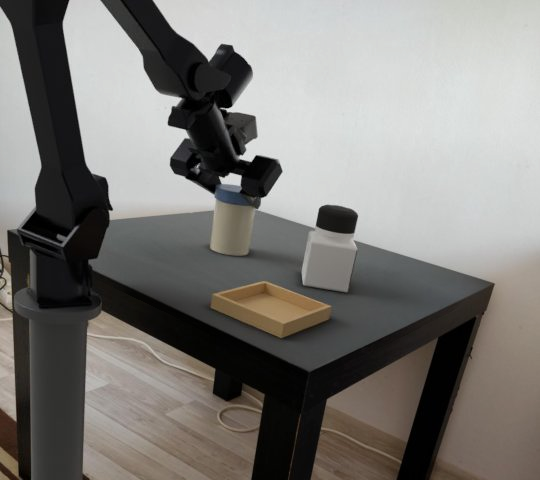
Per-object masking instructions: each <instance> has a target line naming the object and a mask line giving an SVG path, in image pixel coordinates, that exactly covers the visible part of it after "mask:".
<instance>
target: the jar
mask: <svg viewBox="0 0 540 480" xmlns="http://www.w3.org/2000/svg"><path fill="white" fill-rule="evenodd" d="M213 209H214V210H213V219H212V227H211V233H210V234H211V235H210V243H209V249H211V250H212V251H213V252H216V253H218V254H223V255H227V256H233V257H234V256H236V257H242V256H243V257H244V256H247V255H248V254H250V247H251V240H252V233H253V227H254V220H255V214H256V209H255V208H254V207H253V206H252V205H239V204H232V203H227V202H223V201H220V200H218V199H216V198H215V203H214V208H213Z"/></svg>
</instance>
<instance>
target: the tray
mask: <svg viewBox="0 0 540 480" xmlns="http://www.w3.org/2000/svg"><path fill="white" fill-rule="evenodd" d="M210 309H212V310H214V311H217V312H219V313H221V314H223V315H226V316H228V317H231V318H233V319H235V320H237V321H240V322H242V323H244V324H247V325H249V326H252V327H254V328H255V329H259V330H261V331H264V332H266V333H268V334H270V335H272V336H275V337H278V338H279V339H283V338H286V337H288V336H291V335H294V334H296V333H299V332H300V331H303V330H305V329H308V328H310V327H313V326H316V325H318V324H322V323H323V322H326V321H328V320H330V315H331V311H332V305H329V304H326V303H325V302H321V301H318V300H316V299H313V298H311V297H307V296H305V295H303V294H300V293H297V292H295V291H293V290H289V289H287V288H284V287H282V286H280V285H277V284H274V283H271V282H269V281H266V280H263V281H259V282H255V283H251V284H247V285H243V286H238V287H234V288H232V289H227V290H223V291H218V292H215V293H212V295H211V303H210Z"/></svg>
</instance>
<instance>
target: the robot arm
mask: <svg viewBox="0 0 540 480" xmlns="http://www.w3.org/2000/svg"><path fill="white" fill-rule="evenodd" d="M99 1H100V2H101V3H102V5H103V6H104V7H105V9H106V10H107V11H108V13H110V15H111V16H112V17H113V19H114V20H115V21H116V22H117V24H118V25H119V26H120V27H121V29H122V30H123V31H124V33H125V34H126V35H127V37H128V38H129V39H130V40H131V42H132V43H133V44H134V45H135V47H136V48H137V49H138V51H139V53H140V55H141V56H142V66H143V70H144V72H145V74H146V75H147V77H148V80H149V81H150V82H151V85H152V86H153V88H154V89H155V90H156V92H157V93H159V94H160V95H164V96H168V97H174V98H178V99H180V100H179V102H178V103H177V104H176V105H172V106H171V107H170V110H171V111H170V114H169V115H168V118H167V126H168V127H172V128H176V129H180V130H185V133H186V134H187V136H188V137H184V139H183V140H182V141H181V142H180V144H179V145H178V147H177V148H176V149H175V151H174V152H173V154H172V155H171V156H170V157H169V167H170V169H171V171H172V172H173V174H174V175H177V176H181V177H184V179H186V180H188V181H190V182H192V183H193V184H195V185H196V186H199V187H200V188H202V189H203V190H206V191H207V192H208V193H211V194H212V195H213V196H214V195H215V187H216V185H217V184H223V183H222V180H221V178H222V179H225V178H226V177H228V176H229V175H230V174H233V175H237V176H240V177H241V178H240V184H239V186H241V188H242V189H241V190H240V192H239V194H240V195H241V196H242V197H243V198H244V199H245V200H246V201H247V202H248V203H249V204H251V205H252V206H253V207H254V208H255V210H259V208H260V207H261V205H262V199H264V198H266V197H267V196H268V195H269V193H270V192H271V190H272V189H273V188H274V186H275V184H277V181H278V180H279V178H280V177H281V175H282V174H283V171H284V170H283V168H282V165H281V162H280V160H279V159H278V158H275V157H270V156H266V155H262V154H260V155H259V154H255V156H254V157H253V159H252V160H251V161H250V160H246V159H241V158H240V156H244V155H245V153H246V152H247V147H246V145H248V144H249V143H250V142H252V141H253V140H256V139H257V138H258V137H259V135H258V134H259V133H258V123H257V117H256V115H252V114H249V113H243V112H238V111H235V112H232V111H228V110H227V109H230V108H233V106H234V105H235V103H236V102H237V101H238V99H239V98H240V97H241V95H242V94H243V92H244V91H245V90H246V88H247V87H248V86H249V85H250V83H251V81H252V80H253V77H254V72H253V71H254V70H253V68H252V65H251V64H249V63H248V61H247V59H245V57H244V56H243V55H241V54H239V53H238V52H236V51H235V49H234V48H235V47H234V45H232V44H226V43H221V44H220V45H218V47H217V49H216V50H215V53H214V54H213V56H212V57H211V58H210V59H209V60H208V58H207V56H206V55H205V54H204V53H203V52H202V51H201V50H200V49H199V48H198V47H197V46H196V45H195V44H194V43H193V42H191V41H190V40H188V39H187V38H185V37H183V36H182V35H181V34H179V33H178V32H177V31H176V30H175V29H174V28H173V27H172V26H171V24H170V23H169V21H168V19H167V18H166V17H165V15H164V14H163V12H162V11H161V10H160V8H159V7H158V5H157V4H156V3H155V1H154V0H99ZM69 3H70V0H0V9H1V11H2V12H3V14H4V15H5V17H6V18H7V20H8V22H9V24H10V26H11V29H12V33H13V39H14V43H15V47H16V53H17V57H18V62H19V66H20V67H19V68H20V71H21V76H22V81H23V87H24V90H25V95H26V99H27V105H28V108H29V114H30V119H31V123H32V128H33V132H34V136H35V137H34V138H35V142H36V146H37V152H38V155H39V160H40V171H39V172H38V173H39V174H38V176H37V180H36V183H35V185H34V200H35V201H34V202H35V206H34V207H33V209H32V210H31V211H30V213H29V214H27V216H26V217H25V219H24V220H23V221H22V222H21V223H20V224H19V226H18V227H17V229H16V233H17V235H18V238H19V242H20V244H21V245H22V246H25V247H29V284H30V285H29V286H27V287H28V288H27V287H26V288H27V293H28V294H29V296H30V297H31V298H32V300H33V301H34V303H35V304H36V305H37V307H38V308H40V309H47V308H64V307H80V306H91V305H92V301H91V300H90V299H89V298H88V297H90V296H91V295H92V291H93V266H92V264H90V263H89V261H91V260H96V259H98V258H99V254H100V252H101V248H102V246H103V244H104V243H103V242H104V240H105V236H106V232H107V230H108V228H109V227H110V223H111V217H110V216H111V215H110V214H111V213H110V212H113V211H114V207H113V206H112V204H111V201H110V193H109V191H110V190H109V189H110V188H109V187H110V186H109V183H108V179H107V178H106V177H105V176H103V175H98V174H95V173H92V171H91V170H90V168H89V166H88V165H87V162H86V156H85V151H84V145H83V138H82V132H81V127H80V121H79V120H80V119H79V114H78V107H77V103H76V97H75V92H74V85H73V80H72V79H73V78H72V73H71V66H70V62H69V56H68V49H67V44H66V37H65V31H64V20H65V16H66V13H67V9H68V6H69ZM58 235H60V236H61V237H64V238H65V239H62V238H60V237H58Z"/></svg>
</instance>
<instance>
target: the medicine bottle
mask: <svg viewBox="0 0 540 480" xmlns="http://www.w3.org/2000/svg"><path fill="white" fill-rule="evenodd" d="M317 211H318V212H317V217H316V221H315V227H314V230H309V231H308V236H307V239H306V246H305V250H304V257H303V261H302V267H301V281H302V285H303V286H304V287H307V288H308V287H309V288H314V289H322V290H328V291H334V292H339V293H348V292H349V291H350V290H349V289H350V285H351V280H352V276H353V272H354V268H355V264H356V259H357V255H358V251H359V250H358V249H359V248H358V247H357V245H356V242H355V241H354V239H353V238H355V237H354V236H355V233H356V228H357V224H358V220H359V214H358V212H356V210H354V209H352V208H350V207H347V206H343V205H339V204H324V205H321V206H320V207H319V208H318V210H317Z"/></svg>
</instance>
